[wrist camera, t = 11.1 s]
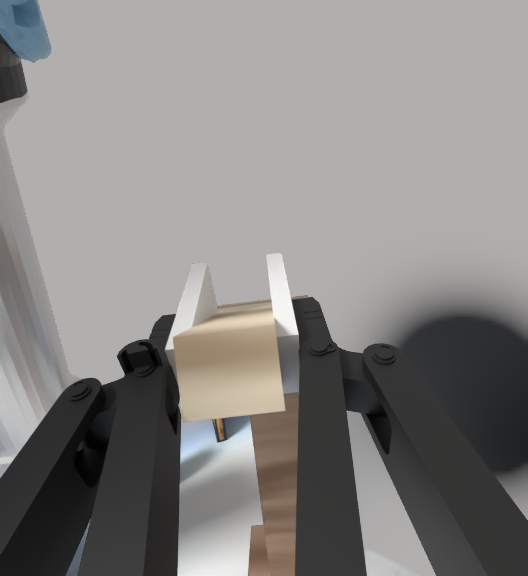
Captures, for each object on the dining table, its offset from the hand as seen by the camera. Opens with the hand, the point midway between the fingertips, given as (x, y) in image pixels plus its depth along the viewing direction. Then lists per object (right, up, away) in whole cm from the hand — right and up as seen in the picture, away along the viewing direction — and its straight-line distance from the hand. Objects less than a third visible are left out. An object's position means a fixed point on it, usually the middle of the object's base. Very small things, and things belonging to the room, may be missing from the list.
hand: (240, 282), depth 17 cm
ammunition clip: (-8, -30, +53) cm, 61 cm away
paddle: (+1, -4, +1) cm, 4 cm away
